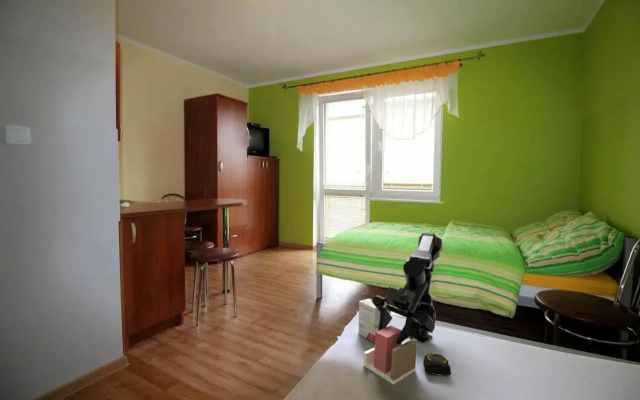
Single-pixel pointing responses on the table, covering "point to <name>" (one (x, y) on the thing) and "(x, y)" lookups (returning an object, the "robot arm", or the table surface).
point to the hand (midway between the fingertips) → (387, 338)
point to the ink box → (368, 319)
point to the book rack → (395, 361)
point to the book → (385, 347)
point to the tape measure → (436, 364)
